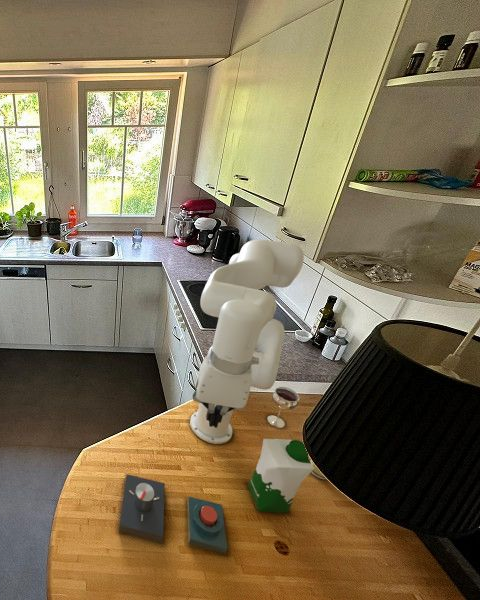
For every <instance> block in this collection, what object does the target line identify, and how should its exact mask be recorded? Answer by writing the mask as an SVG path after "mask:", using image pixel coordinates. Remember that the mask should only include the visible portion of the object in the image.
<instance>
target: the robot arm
mask: <svg viewBox="0 0 480 600" xmlns="http://www.w3.org/2000/svg"><path fill="white" fill-rule="evenodd" d="M304 256H305V255H304V251H303V249H302V247H301V246H300V245H298V244H296V243H293V242H291V243H290V242H283V241H277V240H269V239H262V238H261V239H257V238H256V239H251V240H249V241H247V242H246V243H245V244H243V245H242V247H241V249H240V251H239V252H238V253H235V254H233V255H232V256H231V258H230V259H229V262H228V264H225V265H223V266H220V267H218V268H216V269H215V270H213V272H211V274H210V275H209V277H208V279H207V281H206V283H205V286H204V288H203V290H202V292H201V296H200V301H199V302H200V308H201V310H202V312H203V313H204V314H206V315H208V316H211V317H214V318H217V324H216V329H215V332H214V336H213V341H212V344H211V346H210V348H209V349H208V352H207V355H205V357H204V358H203V361H202V363H201V365H200V367H199V370H198V372H197V376H196V379H195V385H194V388H195V390H194V392H193V394H192V401H194V402H196V403H198V408H197V411H195V412H194V413H192V415H191V417H190V420H189V426H190V429H191V430H192V432H193V433H194V434H195V435H196V436H197V437H198V438H199V439H201V440H203V441H204V442H207V443H210V444H213V445H222V444H226V443H228V442H229V441H230V440H231V439H232V437H233V436H232V435H233V427H232V424H231V419H232V416H233V413H234V410H236V411H237V410H242V411H243V410H245V409H246V405H247V403H248V400H249V396H250V390H251V387H253V388H255V389H259V390H263V391H264V390H269V389H271V388H272V387H273V386H274V385H275V382H276V380H277V376H278V371H279V366H280V363H281V362H280V361H281V356H282V352H283V346H284V341H285V334H286V333H285V331H286V330H285V326H284V324H283V322H281V321H280V320H278V319H275V318H274V316H275V314H276V312H277V308H278V303H277V300H276V297H275V296H274V294H272V293H271V292H268V291H265V290H262V289H264V288H265V287H267V286H269V287H275V288H282V289H283V288H287V287H289V286H290V285H291V284H293V282H294V280H295V279H296V278H297V277H298V276H299V274H300V272H301V270H302V268H303V265H304V259H305V257H304ZM256 350H258V351H256Z"/></svg>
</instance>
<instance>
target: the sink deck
mask: <svg viewBox="0 0 480 600" xmlns="http://www.w3.org/2000/svg"><path fill="white" fill-rule="evenodd" d="M141 483H146V484H149V485H150V486H151V487H152V488H153V490H154V499H153V505H152V508H151V510H149V511H148V512H142V511H140V510H138V509H137V507H136V506H135V503H134V500H135V492H136V487H137V486H138V485H139V484H141ZM165 486H166V483H165V482H162V481H157V480H153V479H148V478H145V477H140V476H136V475H132V474H128V473H126V474H125V482H124V490H123V495H122V496H123V497H122V504H121V510H120V517H119V524H118V532H119V533H120V534H121V533H122V534H125V535H129V536H132V537H136V538H139V539H143V540H147V541H151V542H154V543H158V544H162V543H163V540H164V523H165V521H164V520H165V488H166V487H165Z"/></svg>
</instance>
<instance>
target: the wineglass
mask: <svg viewBox="0 0 480 600" xmlns="http://www.w3.org/2000/svg"><path fill="white" fill-rule="evenodd" d="M272 401H273V403H274V404H275V405H276V406H277V407H278V412H277V415H268V416H267V421H268V423H269V424H270V425H271V426H273V427H275V428H284V427H285V425H286V423H285V421H284V420H283V419H282V418H281V417H280V415H281V413H282V411H283V410H284V411H285V410H286V411H289V410H293V409H295V408H296V407H297V406H298V403H299V401H300V395H299V394H298V393H297V392H296V391H295V390H293V389H292V388H290V387H286V386H276V388H275V389H274V391H273V393H272Z"/></svg>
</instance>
